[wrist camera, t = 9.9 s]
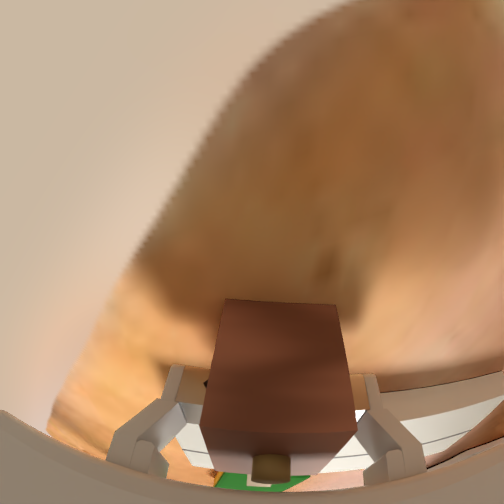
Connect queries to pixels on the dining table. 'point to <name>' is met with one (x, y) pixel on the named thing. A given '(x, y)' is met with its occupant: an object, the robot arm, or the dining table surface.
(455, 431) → the board
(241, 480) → the dish sponge
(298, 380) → the block
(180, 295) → the dining table surface
